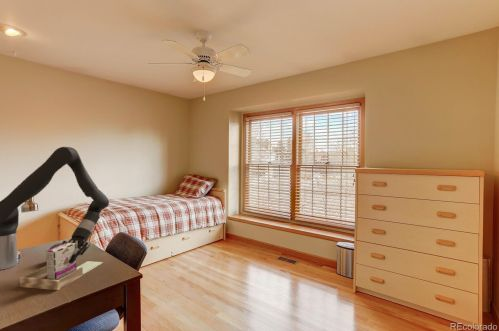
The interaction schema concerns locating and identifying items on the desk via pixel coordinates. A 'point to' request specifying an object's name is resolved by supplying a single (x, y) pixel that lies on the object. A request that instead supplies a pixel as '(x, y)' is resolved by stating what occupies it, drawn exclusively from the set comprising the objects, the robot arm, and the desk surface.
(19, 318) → the desk surface
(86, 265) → the sage mat
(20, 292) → the desk surface
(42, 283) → the lane rack
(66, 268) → the candy bar box
